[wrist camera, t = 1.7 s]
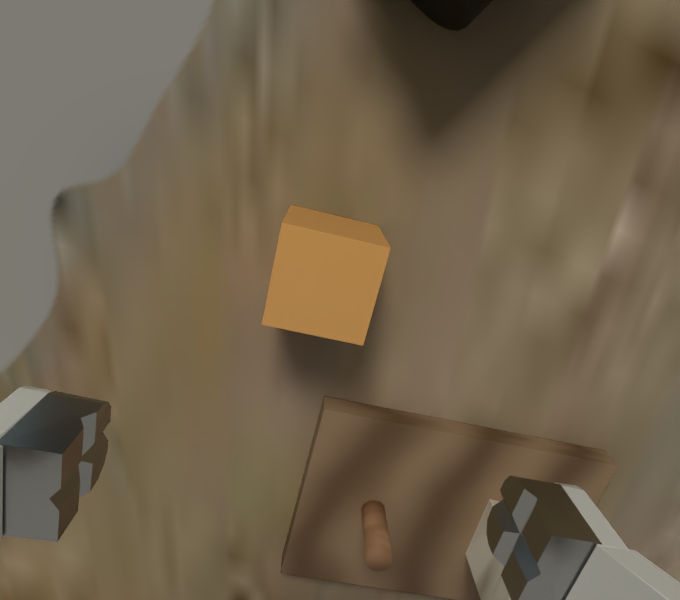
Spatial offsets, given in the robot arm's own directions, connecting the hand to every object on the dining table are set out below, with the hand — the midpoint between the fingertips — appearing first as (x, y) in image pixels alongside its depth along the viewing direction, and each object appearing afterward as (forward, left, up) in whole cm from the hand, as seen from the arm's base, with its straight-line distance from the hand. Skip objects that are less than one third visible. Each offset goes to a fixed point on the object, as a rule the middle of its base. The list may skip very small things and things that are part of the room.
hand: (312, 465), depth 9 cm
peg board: (-12, +16, -18) cm, 27 cm away
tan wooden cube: (0, 0, -18) cm, 18 cm away
